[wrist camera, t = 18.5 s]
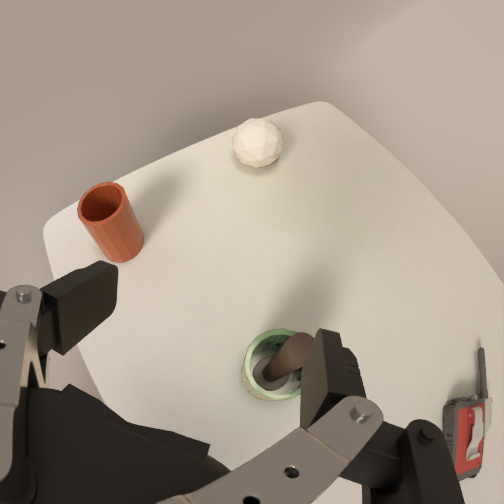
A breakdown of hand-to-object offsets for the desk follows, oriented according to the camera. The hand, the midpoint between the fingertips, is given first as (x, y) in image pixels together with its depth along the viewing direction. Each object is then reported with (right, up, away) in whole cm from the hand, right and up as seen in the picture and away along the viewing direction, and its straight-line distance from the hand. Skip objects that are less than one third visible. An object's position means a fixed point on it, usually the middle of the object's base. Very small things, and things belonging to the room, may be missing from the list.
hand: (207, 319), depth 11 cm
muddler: (+4, -11, +20) cm, 23 cm away
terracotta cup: (-16, +4, +28) cm, 32 cm away
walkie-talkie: (+31, -21, +18) cm, 41 cm away
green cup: (+4, -11, +21) cm, 24 cm away
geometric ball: (+2, +17, +37) cm, 41 cm away
